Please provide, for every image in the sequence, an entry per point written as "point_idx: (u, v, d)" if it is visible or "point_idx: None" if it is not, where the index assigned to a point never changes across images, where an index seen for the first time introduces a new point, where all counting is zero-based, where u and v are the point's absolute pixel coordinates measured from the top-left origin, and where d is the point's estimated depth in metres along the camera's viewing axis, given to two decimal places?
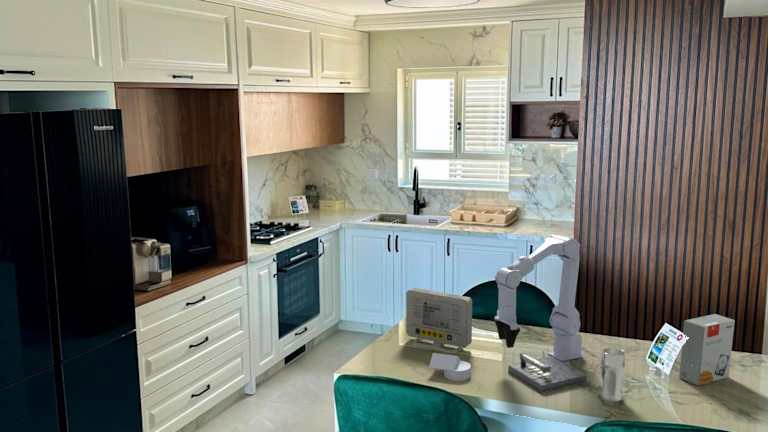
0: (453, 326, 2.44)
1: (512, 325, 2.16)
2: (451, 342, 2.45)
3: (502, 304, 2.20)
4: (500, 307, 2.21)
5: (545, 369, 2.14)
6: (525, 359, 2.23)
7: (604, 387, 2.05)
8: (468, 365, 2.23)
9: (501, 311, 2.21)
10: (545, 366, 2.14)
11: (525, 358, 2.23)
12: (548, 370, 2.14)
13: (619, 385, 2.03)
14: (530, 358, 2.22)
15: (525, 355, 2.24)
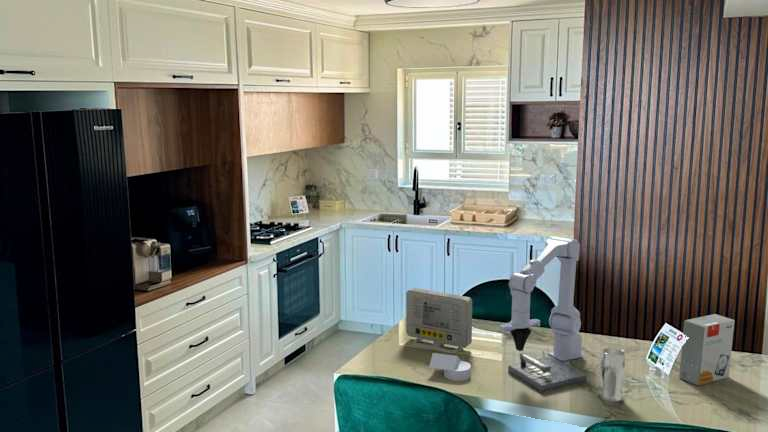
0: (453, 326, 2.44)
1: (500, 326, 2.14)
2: (451, 342, 2.45)
3: (518, 310, 2.13)
4: None
5: (545, 369, 2.14)
6: (525, 359, 2.23)
7: (604, 387, 2.05)
8: (468, 365, 2.23)
9: None
10: (545, 366, 2.14)
11: (525, 358, 2.23)
12: (548, 370, 2.14)
13: (619, 385, 2.03)
14: (530, 358, 2.22)
15: (525, 355, 2.24)
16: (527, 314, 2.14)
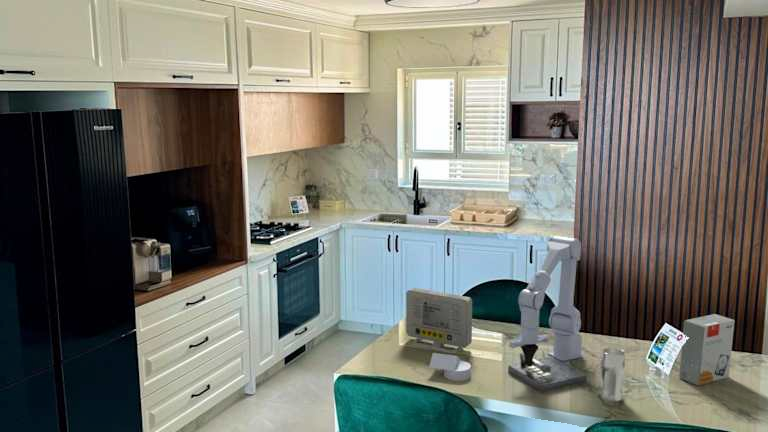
0: (453, 326, 2.44)
1: (509, 342, 2.17)
2: (451, 342, 2.45)
3: (528, 326, 2.16)
4: None
5: (545, 369, 2.14)
6: None
7: (604, 387, 2.05)
8: (468, 365, 2.23)
9: None
10: (545, 366, 2.14)
11: None
12: (548, 370, 2.14)
13: (619, 385, 2.03)
14: None
15: None
16: (536, 330, 2.17)
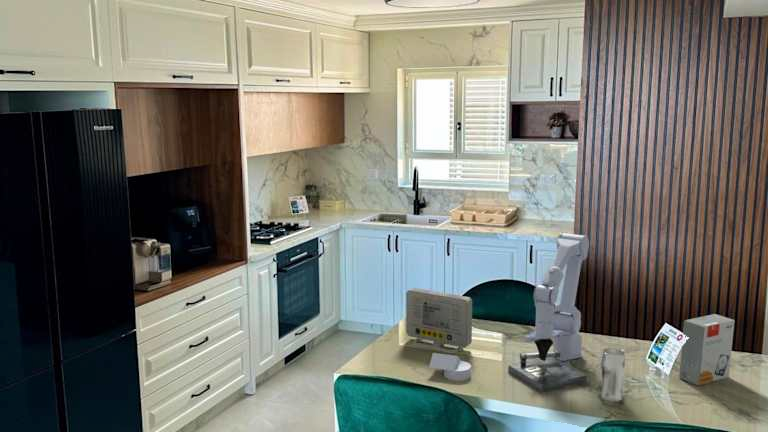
0: (453, 326, 2.44)
1: (524, 337, 2.21)
2: (451, 342, 2.45)
3: (543, 321, 2.20)
4: None
5: None
6: (530, 357, 2.25)
7: (604, 387, 2.05)
8: (468, 365, 2.23)
9: None
10: (557, 351, 2.27)
11: (530, 356, 2.25)
12: None
13: (619, 385, 2.03)
14: (534, 353, 2.26)
15: (526, 354, 2.25)
16: (551, 325, 2.20)
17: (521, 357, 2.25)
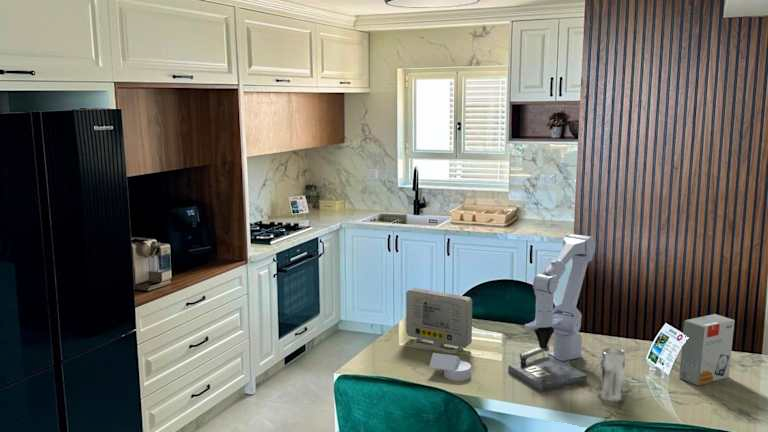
0: (453, 326, 2.44)
1: (525, 326, 2.23)
2: (451, 342, 2.45)
3: (542, 310, 2.22)
4: None
5: None
6: (529, 355, 2.26)
7: (604, 387, 2.05)
8: (468, 365, 2.23)
9: None
10: None
11: (529, 354, 2.26)
12: None
13: (619, 385, 2.03)
14: (530, 351, 2.28)
15: (525, 353, 2.26)
16: (550, 313, 2.23)
17: (523, 357, 2.24)
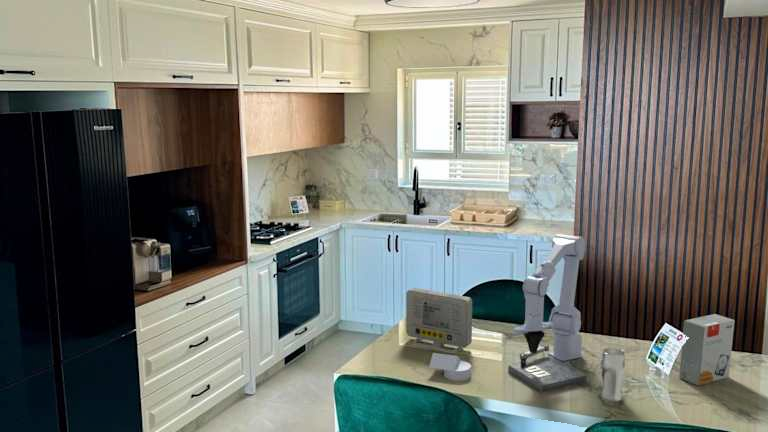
0: (453, 326, 2.44)
1: (514, 329, 2.16)
2: (451, 342, 2.45)
3: (532, 313, 2.15)
4: None
5: None
6: (529, 355, 2.26)
7: (604, 387, 2.05)
8: (468, 365, 2.23)
9: None
10: (545, 345, 2.33)
11: (529, 354, 2.26)
12: None
13: (619, 385, 2.03)
14: None
15: (525, 353, 2.26)
16: (541, 317, 2.16)
17: (523, 357, 2.24)
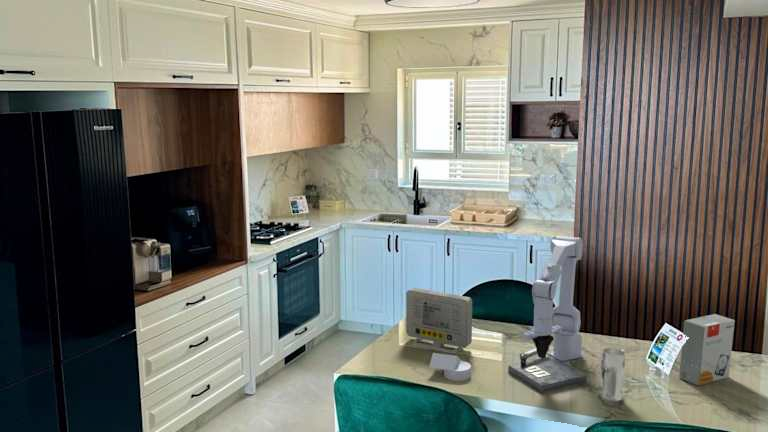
0: (453, 326, 2.44)
1: (523, 334, 2.12)
2: (451, 342, 2.45)
3: (543, 317, 2.11)
4: None
5: None
6: (529, 355, 2.26)
7: (604, 387, 2.05)
8: (468, 365, 2.23)
9: None
10: None
11: (529, 354, 2.26)
12: None
13: (619, 385, 2.03)
14: (530, 351, 2.28)
15: (525, 353, 2.26)
16: (550, 321, 2.12)
17: (523, 357, 2.24)
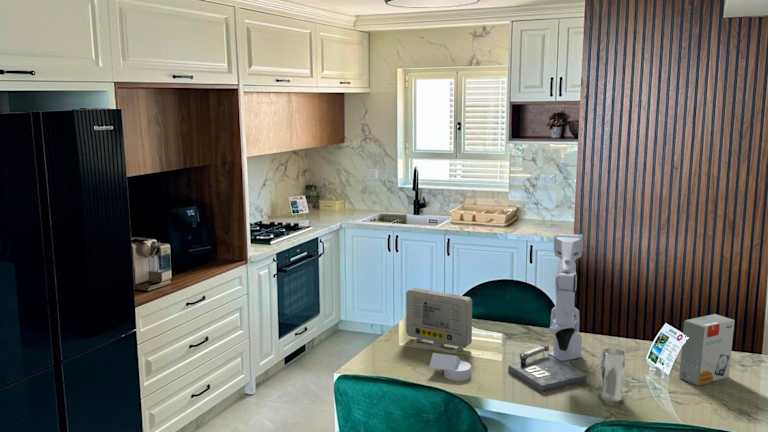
0: (453, 326, 2.44)
1: (550, 329, 2.11)
2: (451, 342, 2.45)
3: (567, 310, 2.12)
4: None
5: None
6: (529, 355, 2.26)
7: (604, 387, 2.05)
8: (468, 365, 2.23)
9: (555, 314, 2.16)
10: (545, 345, 2.33)
11: (529, 354, 2.26)
12: None
13: (619, 385, 2.03)
14: (530, 351, 2.28)
15: (525, 353, 2.26)
16: (573, 313, 2.13)
17: (523, 357, 2.24)
